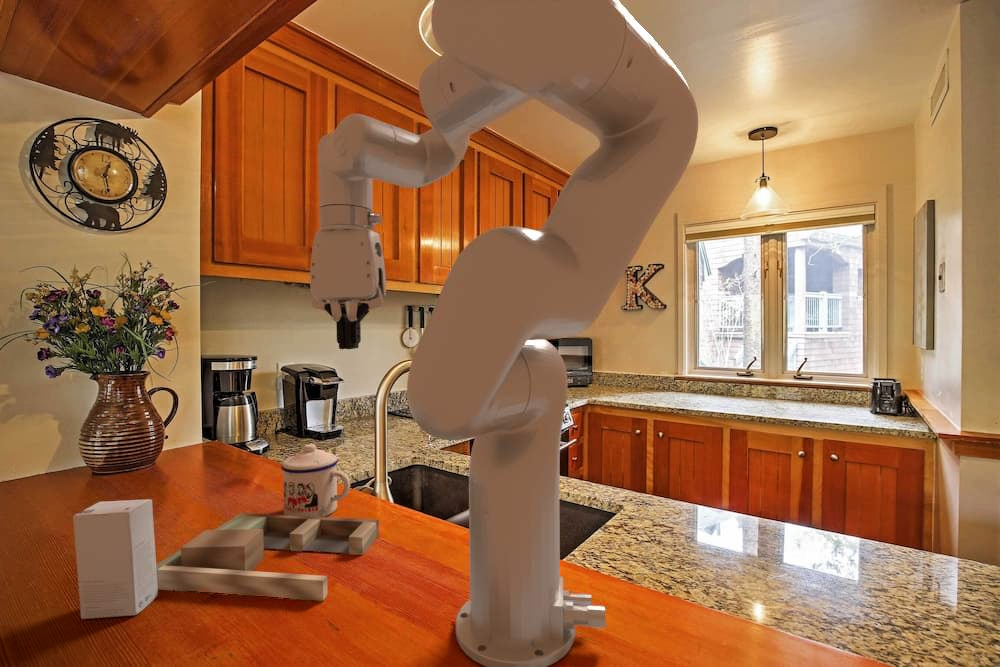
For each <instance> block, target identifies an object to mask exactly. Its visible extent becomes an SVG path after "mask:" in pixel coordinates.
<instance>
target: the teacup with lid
mask: <svg viewBox="0 0 1000 667" xmlns="http://www.w3.org/2000/svg"><path fill="white" fill-rule="evenodd" d="M338 462H339V459H338V457H337V456H336V455H335V454H334V453H331V452H326V451H324V450H321V449H318V448H317V446H316V444H315V443H309V444H305V445H304V446H303V450H302V451H299V452H297V453H296V454H295V455H293V456H290V457H287V458H286V459H285V460H284V461H283V462H282V465H281V470H282V479H283V480H282V483H283V484H282V485H283V515H292V516H313V517H329V515H331V514H333V513H334V512H335V511H336V510H337V507H338V501H340V500H343V499H344V498H346V496H348V494H349V492H350V489H351V480H350V477H349V476H348V474H346V472H343V471H341V470H337V467H338V466H337V464H338ZM337 478H340V479H341V480H342V482H343V484H344V486H343V487H344V488H343V491H342V493H341V494H339V495H338V479H337Z"/></svg>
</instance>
